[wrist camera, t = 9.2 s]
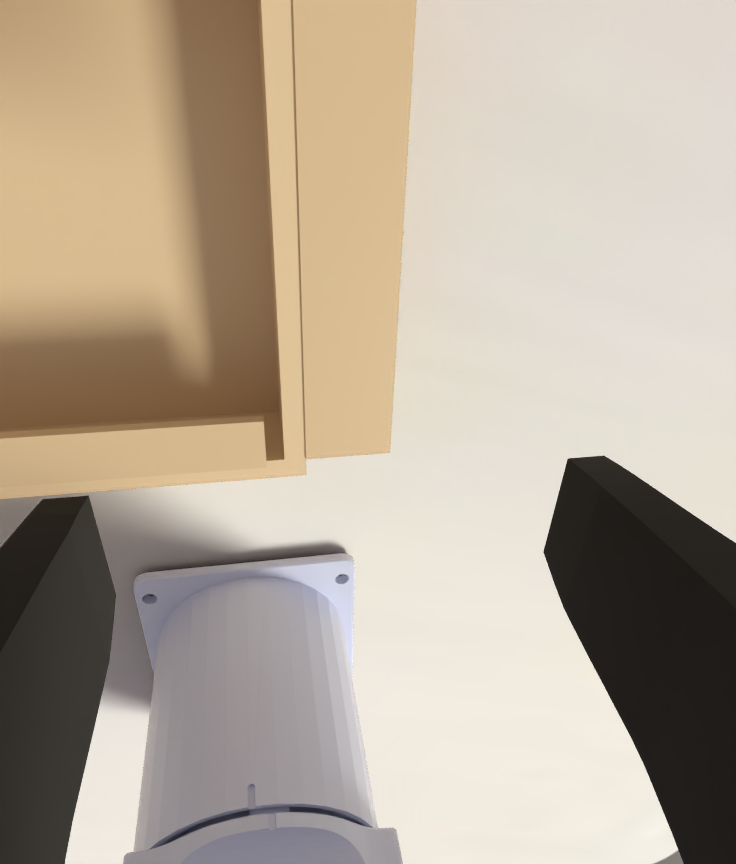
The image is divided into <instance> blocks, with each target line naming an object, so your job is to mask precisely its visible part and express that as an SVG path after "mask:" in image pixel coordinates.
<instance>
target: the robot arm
mask: <svg viewBox="0 0 736 864" xmlns="http://www.w3.org/2000/svg"><path fill="white" fill-rule="evenodd" d="M544 554H545V557H546V560H547V563H548V566H549V569H550V572H551V575H552V578H553V581H554V583H555V586H556V589H557V591H558V594H559V596H560V599H561V602H562V604H563V607H564V609H565V611H566V613H567V615H568V617H569V619H570V621H571V623H572V625H573V627H574V629H575V631H576V633H577V635H578V637H579V639H580V641H581V643H582V645H583V647H584V649H585V651H586V652H587V654H588V656H589V658H590V660H591V662H592V664H593V666H594V668H595V670H596V672H597V673H598V675H599V677H600V679H601V681H602V683H603V685H604V687H605V689H606V691H607V692H608V694H609V696H610V698H611V700H612V702H613V704H614V706H615V708H616V710H617V711H618V713H619V715H620V717H621V719H622V721H623V723H624V725H625V727H626V729H627V731H628V732H629V734H630V736H631V738H632V740H633V742H634V745H635V747H636V749H637V751H638V753H639V755H640V757H641V759H642V761H643V763H644V766H645V768H646V770H647V773H648V775H649V778H650V780H651V782H652V785H653V787H654V790H655V792H656V795H657V797H658V800H659V802H660V805H661V807H662V809H663V812H664V814H665V817H666V819H667V822H668V824H669V827H670V829H671V831H672V834H673V837H674V839H675V842H676V845H677V847H678V850H679V852H680V855H681V858H682V860H683V863H684V864H736V543H735V542H733V541H732V540H730V539H729V538H727V537H726V536H724V535H722V534H721V533H719V532H718V531H716V530H715V529H713V528H712V527H710V526H709V525H707V524H706V523H704V522H703V521H701V520H700V519H698V518H697V517H696V516H694V515H693V514H691V513H690V512H688V511H687V510H685V509H684V508H682V507H681V506H679V505H678V504H676V503H675V502H673V501H672V500H671V499H669V498H668V497H666V496H665V495H663V494H662V493H660V492H659V491H657V490H656V489H654V488H653V487H652V486H650V485H649V484H647V483H646V482H644V481H643V480H641V479H640V478H638V477H637V476H635V475H634V474H632V473H631V472H629V471H628V470H626V469H625V468H623V467H622V466H620V465H618V464H617V463H615V462H614V461H612V460H610V459H609V458H607V457H605V456H595V457H582V458H569V459H568V460H567V464H566V468H565V472H564V476H563V479H562V483H561V487H560V491H559V495H558V499H557V502H556V506H555V510H554V514H553V518H552V521H551V525H550V529H549V533H548V537H547V541H546V544H545V548H544ZM341 574H345V575H344V576H341V577H340V576H338V575H341ZM354 590H355V565H354V560H353V558H352V557H351V556H350V555H348V554H344V553H339V554H329V555H319V556H309V557H299V558H289V559H278V560H268V561H258V562H248V563H238V564H227V565H217V566H207V567H197V568H187V569H176V570H166V571H156V572H146V573H142V574H140V575H138V576H137V577H136V578H135V580H134V586H133V591H134V595H135V599H136V604H137V608H138V612H139V616H140V620H141V624H142V628H143V632H144V637H145V641H146V645H147V649H148V653H149V657H150V661H151V665H152V670H153V674H154V682H153V691H152V699H151V708H150V716H149V725H148V733H147V742H146V750H145V759H144V767H143V776H142V784H141V793H140V802H139V810H138V819H137V827H136V836H135V844H134V852H130V853H127V854H126V855H125V856H124V862H123V864H403V862H402V857H401V852H400V847H399V842H398V837H397V831H396V829H394V828H378V826H377V820H376V814H375V808H374V803H373V797H372V791H371V785H370V779H369V774H368V768H367V762H366V756H365V750H364V744H363V739H362V733H361V727H360V721H359V715H358V709H357V704H356V698H355V692H354V686H353V680H352V668H353V629H354ZM147 594H153V595H154V596H148V595H147ZM115 599H116V593H115V590H114V586H113V582H112V579H111V575H110V572H109V568H108V564H107V561H106V557H105V553H104V550H103V546H102V543H101V539H100V535H99V532H98V528H97V525H96V521H95V517H94V514H93V510H92V506H91V503H90V499H89V496H80V497H67V498H54V499H43V500H42V501H41V502H40V503H39V504H38V505H37V506H36V507H35V508H34V510H33V511H32V512H31V513H30V514H29V515H28V516H27V517H26V519H25V520H24V521H23V522H22V523H21V524H20V526H19V527H18V528H17V529H16V530H15V531H14V533H13V534H12V535H11V536H10V537H9V538H8V540H7V541H6V542H5V543H4V544H3V546H2V547H1V548H0V864H65V858H66V852H67V847H68V842H69V837H70V831H71V826H72V821H73V816H74V812H75V808H76V803H77V799H78V795H79V791H80V786H81V782H82V778H83V773H84V769H85V765H86V760H87V756H88V752H89V747H90V743H91V739H92V735H93V730H94V726H95V722H96V717H97V713H98V709H99V704H100V700H101V695H102V691H103V686H104V682H105V678H106V673H107V668H108V664H109V658H110V649H111V640H112V631H113V620H114V609H115Z"/></svg>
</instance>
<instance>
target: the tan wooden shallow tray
mask: <svg viewBox="0 0 736 864" xmlns="http://www.w3.org/2000/svg"><path fill="white" fill-rule="evenodd" d="M415 18H416V0H0V499H9V498H22V497H34V496H47V495H60V494H72V493H85V492H98V491H111V490H123V489H136V488H149V487H161V486H174V485H187V484H199V483H212V482H225V481H237V480H250V479H263V478H275V477H288V476H301V475H306V459H314V458H328V457H341V456H354V455H368V454H381V453H390V444H391V427H392V410H393V393H394V376H395V359H396V342H397V325H398V308H399V291H400V273H401V256H402V239H403V222H404V205H405V188H406V171H407V154H408V137H409V120H410V103H411V86H412V69H413V52H414V35H415Z"/></svg>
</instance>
